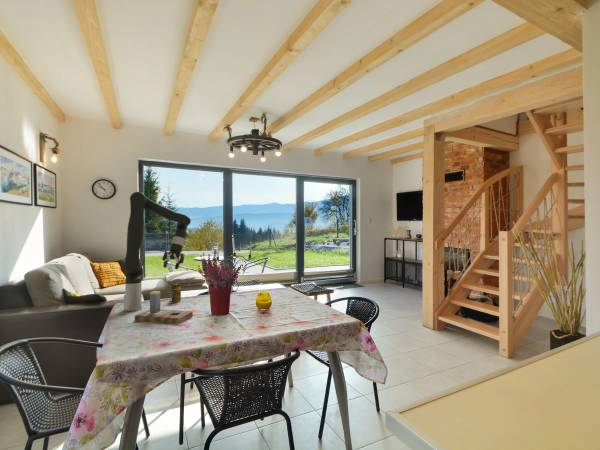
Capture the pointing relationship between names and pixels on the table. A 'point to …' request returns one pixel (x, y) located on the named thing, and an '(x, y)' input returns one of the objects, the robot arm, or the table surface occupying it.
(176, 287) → the condiment
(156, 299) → the grey upright cylinder
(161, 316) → the rack foot plate
